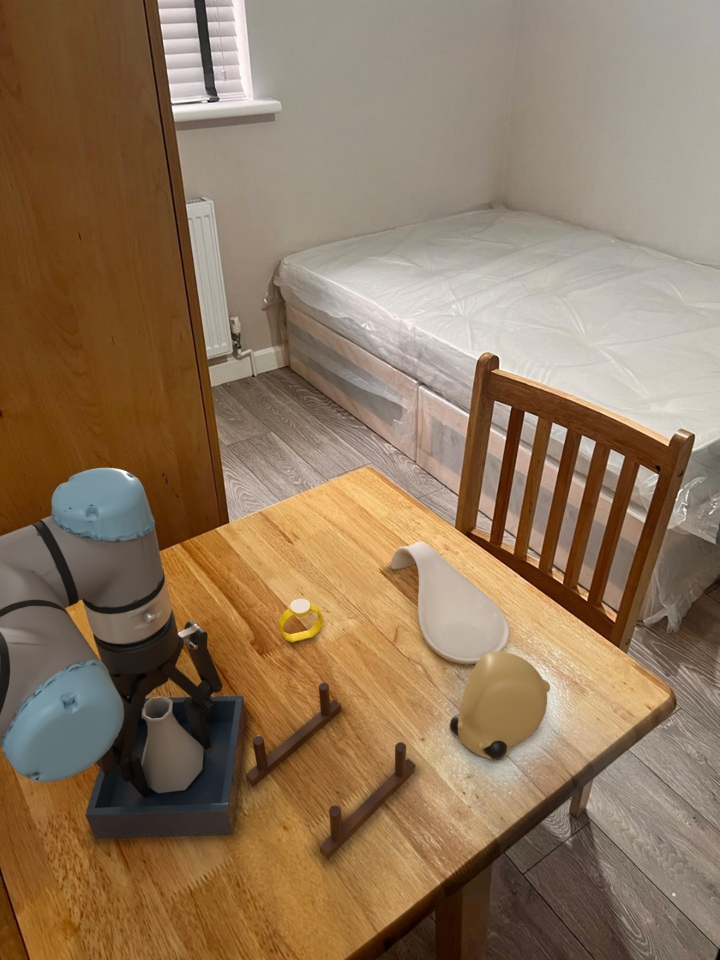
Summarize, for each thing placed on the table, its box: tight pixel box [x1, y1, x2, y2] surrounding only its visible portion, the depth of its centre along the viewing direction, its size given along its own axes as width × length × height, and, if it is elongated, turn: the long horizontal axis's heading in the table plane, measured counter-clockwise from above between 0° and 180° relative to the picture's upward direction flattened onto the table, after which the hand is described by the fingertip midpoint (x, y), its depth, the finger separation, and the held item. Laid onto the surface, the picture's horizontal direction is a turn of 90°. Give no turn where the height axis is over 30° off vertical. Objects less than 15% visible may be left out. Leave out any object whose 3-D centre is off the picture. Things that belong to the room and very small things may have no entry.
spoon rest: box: [390, 541, 511, 665], centre depth 101 cm, size 24×12×7 cm, turn 25°
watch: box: [277, 598, 324, 643], centre depth 99 cm, size 6×3×6 cm, turn 111°
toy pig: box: [449, 651, 551, 761], centre depth 85 cm, size 10×12×11 cm
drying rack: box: [245, 681, 416, 860], centre depth 81 cm, size 14×13×6 cm
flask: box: [141, 695, 204, 793], centre depth 79 cm, size 7×7×10 cm
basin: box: [85, 694, 248, 840], centre depth 82 cm, size 15×15×5 cm
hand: (171, 764), depth 82 cm, fingers closed on flask, 7 cm apart
